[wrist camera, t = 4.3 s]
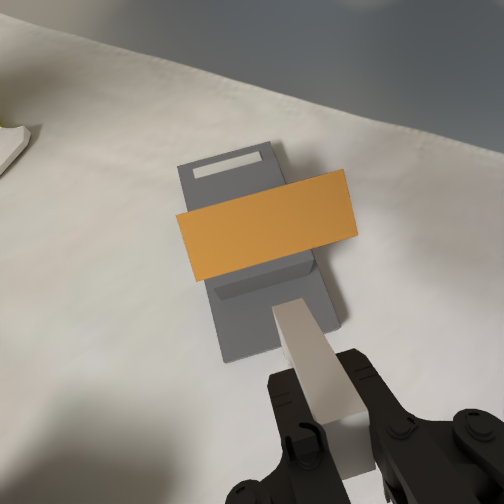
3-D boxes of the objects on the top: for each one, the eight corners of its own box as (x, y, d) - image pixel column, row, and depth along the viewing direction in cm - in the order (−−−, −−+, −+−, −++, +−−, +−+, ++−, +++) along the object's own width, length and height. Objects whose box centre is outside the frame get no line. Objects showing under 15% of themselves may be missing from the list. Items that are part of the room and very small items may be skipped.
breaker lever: (294, 223, 26) (358, 235, 14) (209, 247, 26) (196, 281, 13) (285, 188, 26) (343, 169, 13) (199, 212, 26) (175, 215, 13)
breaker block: (337, 329, 29) (351, 318, 23) (226, 363, 28) (215, 359, 23) (269, 150, 36) (269, 112, 31) (180, 174, 35) (165, 140, 30)
